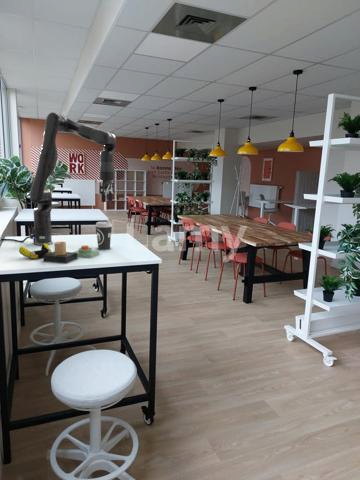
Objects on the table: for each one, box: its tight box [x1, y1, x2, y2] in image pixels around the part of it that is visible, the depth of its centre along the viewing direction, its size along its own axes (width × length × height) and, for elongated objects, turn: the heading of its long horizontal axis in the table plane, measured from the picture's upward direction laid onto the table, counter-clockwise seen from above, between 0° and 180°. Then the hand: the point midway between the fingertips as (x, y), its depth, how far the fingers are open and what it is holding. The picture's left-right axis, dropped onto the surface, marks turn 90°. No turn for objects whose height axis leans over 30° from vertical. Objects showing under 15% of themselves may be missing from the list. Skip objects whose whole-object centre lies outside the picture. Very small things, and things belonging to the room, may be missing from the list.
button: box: [80, 244, 90, 250], centre depth 175 cm, size 4×4×2 cm
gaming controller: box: [18, 243, 52, 260], centre depth 170 cm, size 15×6×10 cm
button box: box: [72, 247, 100, 259], centre depth 176 cm, size 11×9×4 cm
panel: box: [42, 250, 78, 264], centre depth 165 cm, size 12×10×3 cm
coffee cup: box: [94, 221, 113, 251], centre depth 192 cm, size 10×10×15 cm
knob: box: [53, 241, 67, 255], centre depth 164 cm, size 5×5×6 cm
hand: (107, 201), depth 184 cm, fingers open, 8 cm apart
